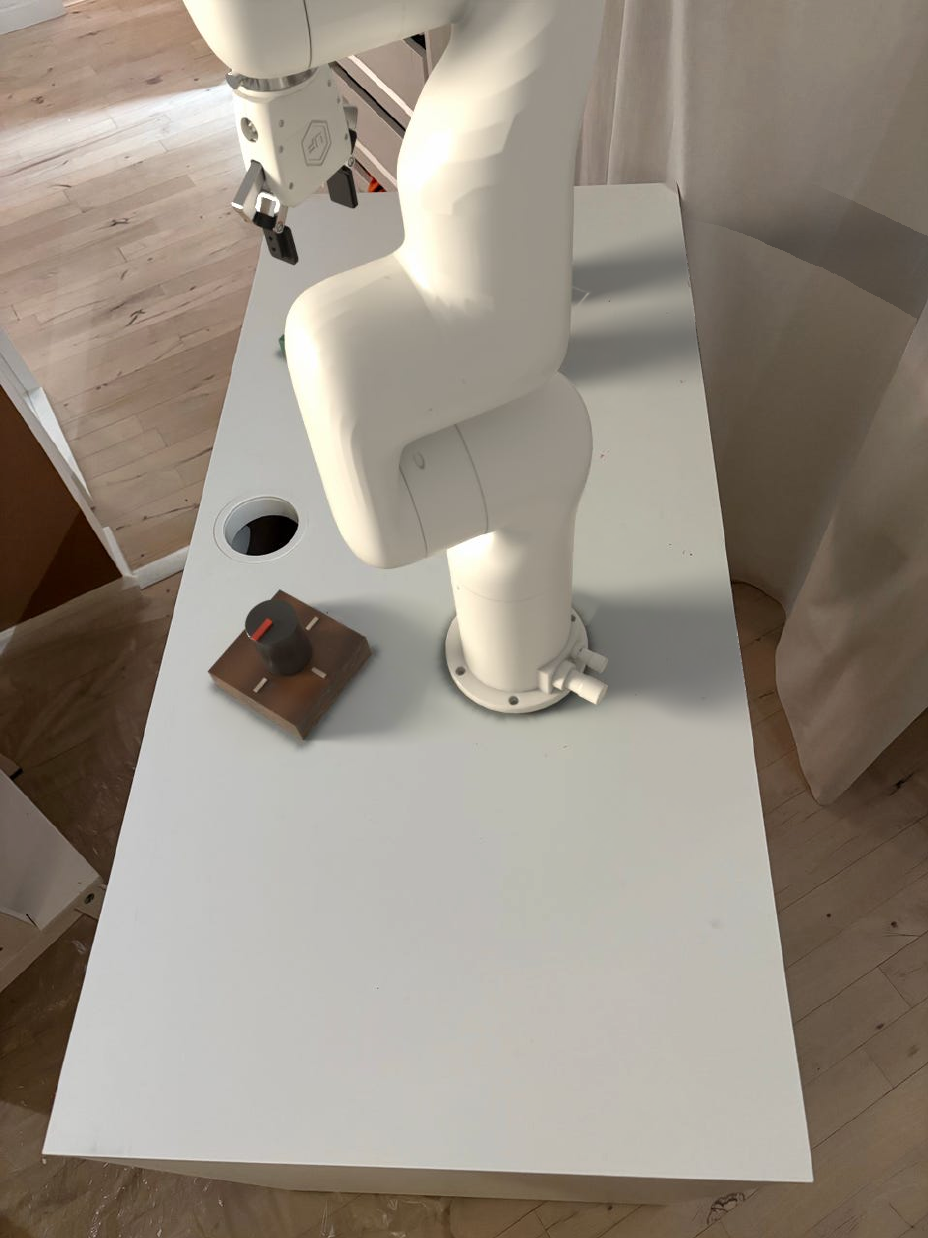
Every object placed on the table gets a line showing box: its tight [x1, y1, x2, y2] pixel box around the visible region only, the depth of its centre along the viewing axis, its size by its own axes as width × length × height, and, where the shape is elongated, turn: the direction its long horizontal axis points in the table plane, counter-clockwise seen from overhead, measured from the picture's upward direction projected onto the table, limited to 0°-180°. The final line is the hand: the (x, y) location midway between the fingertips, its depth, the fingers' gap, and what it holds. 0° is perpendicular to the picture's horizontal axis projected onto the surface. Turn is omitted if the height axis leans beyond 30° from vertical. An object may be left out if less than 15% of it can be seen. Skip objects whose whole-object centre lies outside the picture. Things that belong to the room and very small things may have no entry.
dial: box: [244, 598, 312, 676], centre depth 80 cm, size 4×4×6 cm
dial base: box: [207, 589, 372, 741], centre depth 84 cm, size 10×10×3 cm
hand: (315, 230), depth 95 cm, fingers open, 9 cm apart
